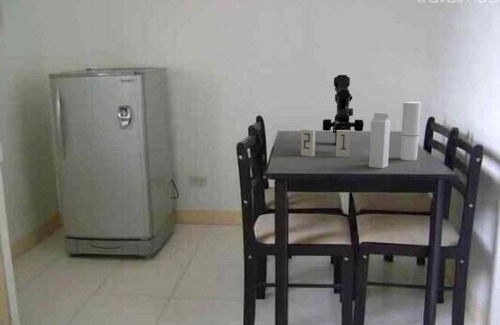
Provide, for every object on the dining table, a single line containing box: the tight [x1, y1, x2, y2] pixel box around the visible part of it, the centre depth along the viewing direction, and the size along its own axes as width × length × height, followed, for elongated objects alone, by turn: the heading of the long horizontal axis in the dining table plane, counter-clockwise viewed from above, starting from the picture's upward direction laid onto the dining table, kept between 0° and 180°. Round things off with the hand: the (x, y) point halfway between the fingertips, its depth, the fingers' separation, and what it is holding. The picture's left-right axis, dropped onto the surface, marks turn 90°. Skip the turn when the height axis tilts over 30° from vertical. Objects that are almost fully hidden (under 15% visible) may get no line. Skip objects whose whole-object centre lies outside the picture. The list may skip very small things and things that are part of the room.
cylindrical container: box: [399, 101, 422, 161], centre depth 206 cm, size 7×7×25 cm
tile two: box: [300, 128, 316, 158], centre depth 216 cm, size 3×6×12 cm, turn 54°
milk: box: [368, 112, 391, 169], centre depth 192 cm, size 6×6×22 cm
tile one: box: [335, 130, 351, 158], centre depth 213 cm, size 3×6×12 cm, turn 81°
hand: (342, 139), depth 216 cm, fingers closed
